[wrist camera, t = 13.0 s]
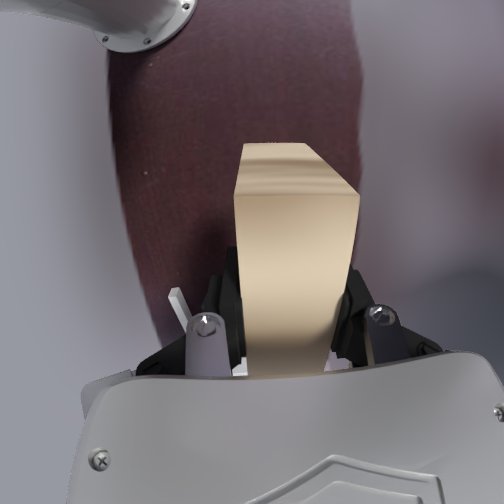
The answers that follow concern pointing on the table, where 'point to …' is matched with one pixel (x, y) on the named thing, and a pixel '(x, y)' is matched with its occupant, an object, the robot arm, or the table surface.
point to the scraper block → (291, 255)
